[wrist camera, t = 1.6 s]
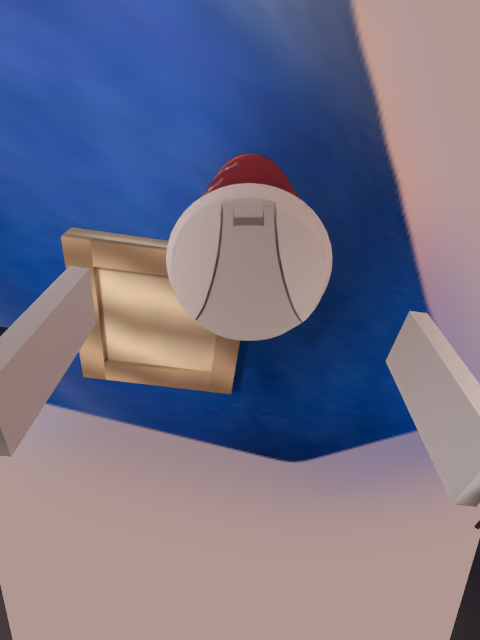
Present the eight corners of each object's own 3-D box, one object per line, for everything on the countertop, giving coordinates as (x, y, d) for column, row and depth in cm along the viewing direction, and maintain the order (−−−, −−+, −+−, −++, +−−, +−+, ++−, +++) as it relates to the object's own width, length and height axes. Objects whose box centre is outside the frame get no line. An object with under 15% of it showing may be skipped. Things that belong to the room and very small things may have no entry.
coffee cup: (195, 136, 27) (146, 192, 15) (306, 135, 27) (351, 191, 14) (203, 242, 32) (171, 351, 19) (297, 242, 31) (325, 353, 19)
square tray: (71, 227, 31) (60, 236, 29) (253, 252, 32) (253, 262, 30) (90, 363, 40) (83, 376, 39) (231, 380, 41) (231, 394, 39)
